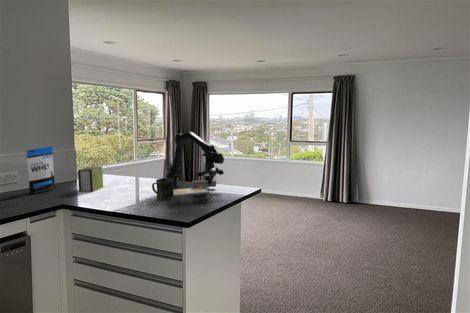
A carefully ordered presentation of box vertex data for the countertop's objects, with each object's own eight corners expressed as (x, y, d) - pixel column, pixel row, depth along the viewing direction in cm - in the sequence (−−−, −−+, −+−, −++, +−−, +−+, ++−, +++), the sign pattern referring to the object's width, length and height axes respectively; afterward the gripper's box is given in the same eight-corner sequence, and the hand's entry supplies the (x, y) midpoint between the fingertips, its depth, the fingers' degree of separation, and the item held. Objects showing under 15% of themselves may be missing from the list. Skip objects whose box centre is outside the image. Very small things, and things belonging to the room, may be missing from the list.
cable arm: (192, 187, 245) (192, 181, 245) (192, 186, 249) (191, 180, 248) (216, 186, 248) (216, 181, 247) (215, 185, 251) (215, 180, 251)
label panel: (169, 191, 241) (168, 189, 241) (202, 188, 251) (202, 186, 251) (174, 195, 228) (173, 193, 228) (209, 192, 237) (208, 190, 237)
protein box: (103, 187, 256) (102, 166, 254) (93, 192, 241) (91, 169, 239) (89, 187, 257) (88, 166, 255) (78, 191, 242) (77, 169, 240)
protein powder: (23, 194, 233) (20, 149, 230) (49, 187, 257) (46, 146, 253) (36, 195, 231) (32, 150, 228) (60, 187, 255) (58, 146, 252)
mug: (169, 201, 214) (168, 181, 212) (148, 199, 218) (147, 180, 217) (177, 197, 224) (176, 178, 223) (157, 195, 228) (156, 177, 227)
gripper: (199, 165, 229) (200, 188, 230) (226, 163, 236) (226, 186, 238) (194, 163, 239) (195, 185, 240) (220, 161, 246) (220, 183, 248)
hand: (209, 185), depth 241 cm, fingers closed
